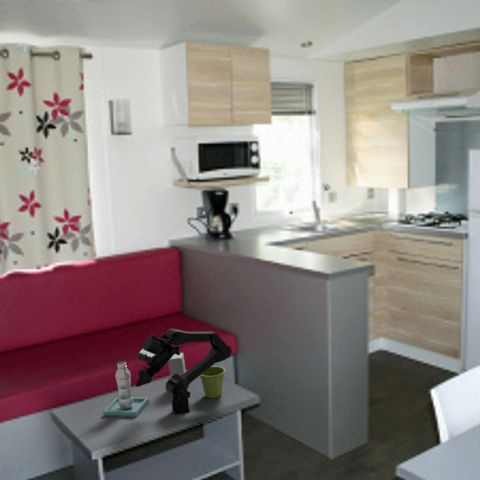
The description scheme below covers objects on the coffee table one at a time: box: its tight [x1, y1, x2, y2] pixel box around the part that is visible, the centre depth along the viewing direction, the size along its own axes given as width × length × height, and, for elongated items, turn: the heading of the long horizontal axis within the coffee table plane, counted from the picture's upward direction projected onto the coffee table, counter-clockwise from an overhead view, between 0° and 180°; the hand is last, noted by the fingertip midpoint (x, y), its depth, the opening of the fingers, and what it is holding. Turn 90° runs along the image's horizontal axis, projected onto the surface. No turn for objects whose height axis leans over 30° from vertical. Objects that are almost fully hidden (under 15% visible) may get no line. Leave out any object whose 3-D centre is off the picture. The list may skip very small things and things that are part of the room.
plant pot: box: [199, 365, 226, 399], centre depth 292 cm, size 12×12×11 cm
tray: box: [102, 396, 150, 418], centre depth 285 cm, size 15×15×2 cm
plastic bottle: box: [114, 361, 134, 409], centre depth 283 cm, size 6×7×20 cm
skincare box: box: [167, 352, 187, 378], centre depth 302 cm, size 8×7×16 cm
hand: (140, 381), depth 278 cm, fingers open, 9 cm apart
